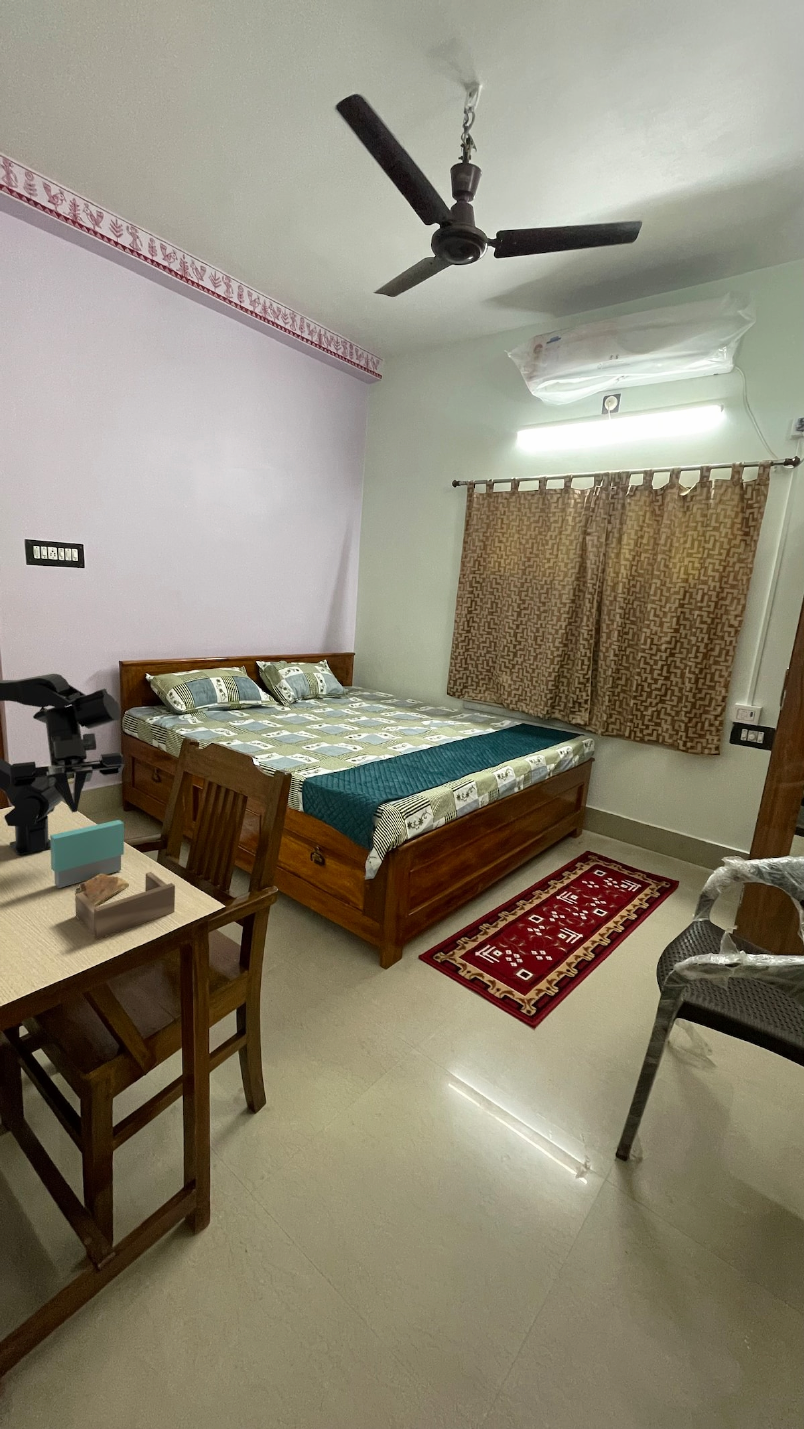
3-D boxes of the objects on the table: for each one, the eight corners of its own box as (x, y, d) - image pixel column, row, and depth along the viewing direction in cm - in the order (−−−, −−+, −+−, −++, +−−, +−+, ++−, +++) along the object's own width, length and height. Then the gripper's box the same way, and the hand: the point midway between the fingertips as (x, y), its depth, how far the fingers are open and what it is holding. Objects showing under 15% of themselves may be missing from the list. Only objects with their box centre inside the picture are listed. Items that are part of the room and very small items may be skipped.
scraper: (51, 884, 103) (50, 835, 101) (119, 865, 112) (119, 819, 111) (55, 889, 102) (54, 838, 100) (123, 869, 111) (123, 823, 109)
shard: (84, 918, 96) (84, 909, 96) (48, 907, 98) (48, 898, 97) (131, 889, 106) (131, 880, 106) (97, 879, 108) (97, 871, 108)
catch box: (75, 916, 95) (75, 888, 94) (150, 891, 105) (151, 866, 104) (97, 939, 90) (97, 911, 89) (174, 911, 100) (175, 885, 99)
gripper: (6, 723, 100) (14, 808, 95) (122, 715, 111) (134, 790, 106) (7, 746, 108) (15, 825, 104) (114, 736, 119) (126, 807, 115)
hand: (74, 811), depth 107 cm, fingers closed
